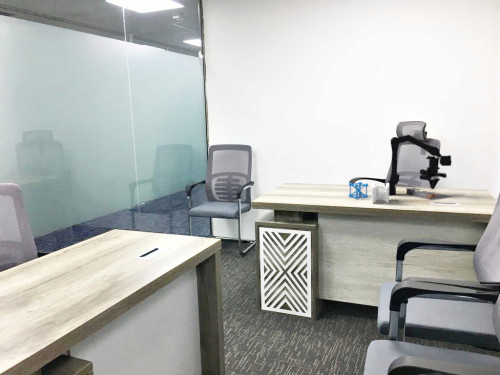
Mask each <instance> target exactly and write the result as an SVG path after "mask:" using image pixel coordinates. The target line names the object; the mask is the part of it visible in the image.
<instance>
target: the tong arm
mask: <svg viewBox="0 0 500 375" xmlns="http://www.w3.org/2000/svg"><path fill="white" fill-rule="evenodd" d="M415 192H419V193H424V194H430V195H432V198H437V194H434V193H435V192H432V193H428V192H429V191H427V192H421V190H418V191H415Z"/></svg>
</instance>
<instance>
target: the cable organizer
mask: <svg viewBox="0 0 500 375" xmlns="http://www.w3.org/2000/svg"><path fill="white" fill-rule="evenodd" d="M370 188H371V203H372V204H375V203H376V201H385V203H386V204H389V203H390V196H389V183H387V182H386V183H385V185H377V183H376V182H372V184H371V187H370Z"/></svg>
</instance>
